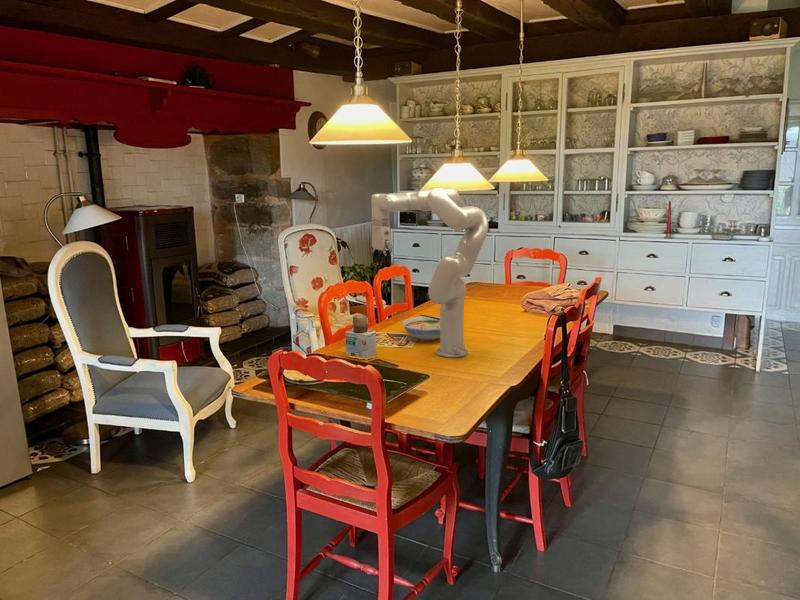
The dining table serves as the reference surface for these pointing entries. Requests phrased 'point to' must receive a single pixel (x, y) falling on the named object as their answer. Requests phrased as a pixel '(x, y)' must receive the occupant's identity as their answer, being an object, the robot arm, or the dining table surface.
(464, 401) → the dining table surface
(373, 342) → the light bulb box
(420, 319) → the ramen bowl
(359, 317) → the walnut cylinder
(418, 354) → the dining table surface
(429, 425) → the dining table surface
